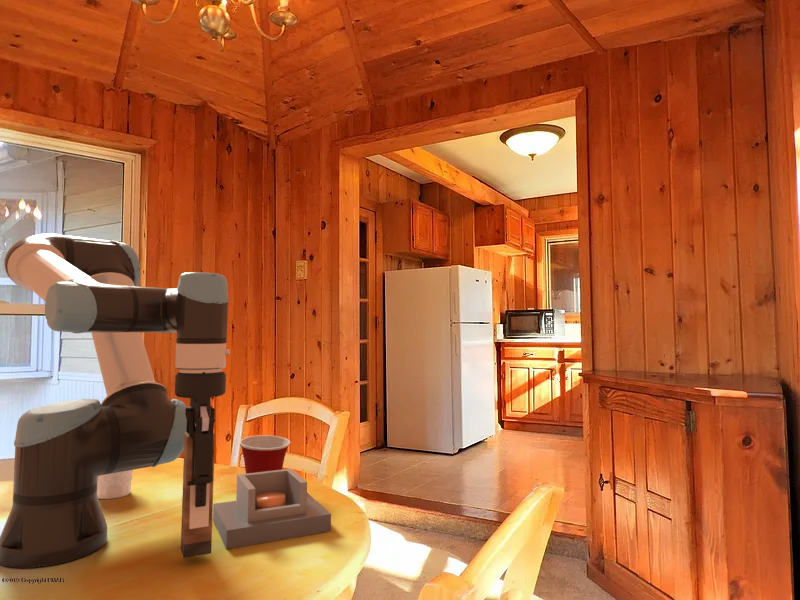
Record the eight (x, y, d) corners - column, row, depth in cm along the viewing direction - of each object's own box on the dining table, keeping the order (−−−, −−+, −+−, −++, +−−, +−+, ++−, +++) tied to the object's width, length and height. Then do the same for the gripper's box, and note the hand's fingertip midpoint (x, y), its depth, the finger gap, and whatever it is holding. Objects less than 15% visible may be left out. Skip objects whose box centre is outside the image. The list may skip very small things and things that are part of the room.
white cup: (140, 489, 119) (142, 444, 120) (118, 501, 111) (120, 452, 112) (107, 488, 120) (109, 443, 121) (83, 499, 112) (85, 451, 113)
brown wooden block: (183, 558, 80) (187, 436, 81) (180, 548, 84) (184, 432, 85) (211, 553, 82) (214, 434, 83) (207, 544, 86) (211, 430, 87)
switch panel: (226, 549, 88) (227, 496, 88) (212, 519, 101) (214, 474, 101) (330, 531, 96) (331, 482, 96) (305, 506, 109) (306, 463, 110)
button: (259, 513, 95) (259, 502, 95) (253, 505, 100) (253, 494, 100) (288, 509, 97) (288, 498, 97) (281, 501, 102) (281, 490, 102)
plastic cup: (256, 507, 108) (258, 447, 109) (227, 496, 115) (229, 439, 116) (299, 495, 116) (300, 439, 117) (270, 485, 123) (271, 432, 124)
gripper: (235, 373, 79) (231, 536, 77) (217, 366, 94) (214, 502, 93) (180, 375, 75) (175, 545, 74) (171, 367, 91) (166, 509, 89)
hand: (197, 521), depth 83 cm, fingers closed on brown wooden block, 4 cm apart
